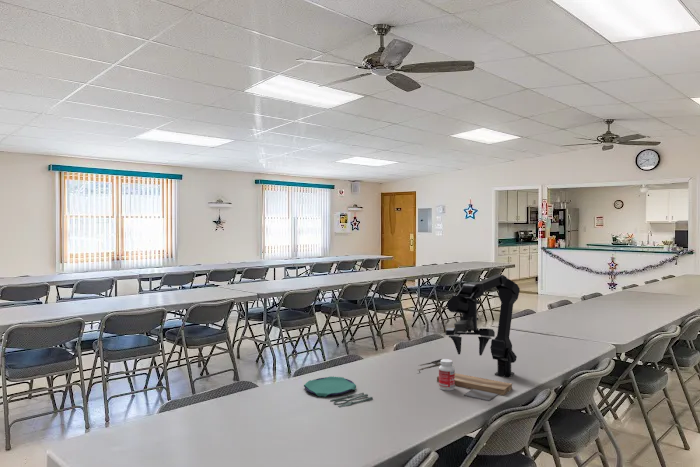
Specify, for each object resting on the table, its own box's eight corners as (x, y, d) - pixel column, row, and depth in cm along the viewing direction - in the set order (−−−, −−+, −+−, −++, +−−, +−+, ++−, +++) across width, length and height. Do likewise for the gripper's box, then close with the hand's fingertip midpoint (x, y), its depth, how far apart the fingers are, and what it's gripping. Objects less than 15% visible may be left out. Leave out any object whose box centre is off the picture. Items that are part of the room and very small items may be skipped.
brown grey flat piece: (447, 376, 207) (447, 371, 207) (512, 388, 190) (512, 383, 190) (426, 387, 193) (426, 382, 193) (494, 402, 176) (494, 396, 176)
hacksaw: (441, 361, 232) (441, 358, 232) (456, 366, 223) (456, 363, 223) (401, 369, 220) (401, 366, 220) (415, 375, 211) (415, 372, 211)
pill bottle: (452, 391, 187) (451, 363, 187) (436, 389, 190) (436, 361, 190) (456, 387, 193) (456, 359, 193) (442, 384, 196) (441, 357, 196)
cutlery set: (339, 378, 207) (339, 373, 207) (378, 400, 181) (378, 394, 181) (297, 387, 197) (296, 381, 197) (331, 412, 171) (330, 405, 171)
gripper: (438, 313, 193) (438, 353, 190) (481, 312, 181) (482, 355, 178) (452, 315, 201) (452, 354, 198) (495, 315, 189) (495, 356, 186)
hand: (469, 354), depth 189 cm, fingers open, 9 cm apart
